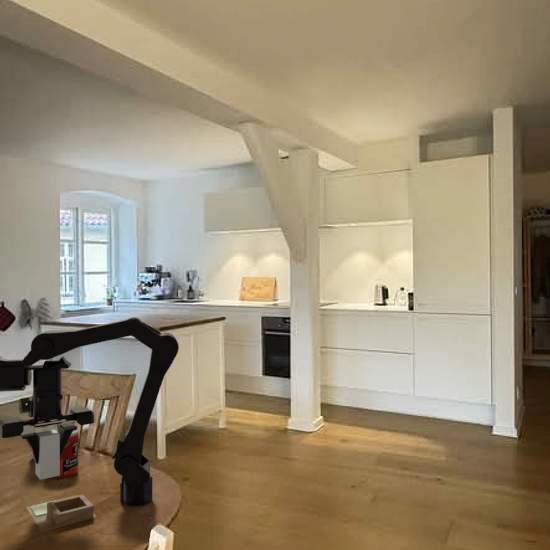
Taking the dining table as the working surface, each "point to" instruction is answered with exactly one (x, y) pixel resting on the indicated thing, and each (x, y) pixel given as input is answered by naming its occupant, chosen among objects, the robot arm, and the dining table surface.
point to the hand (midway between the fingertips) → (47, 461)
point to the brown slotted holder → (61, 512)
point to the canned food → (69, 456)
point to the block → (48, 454)
